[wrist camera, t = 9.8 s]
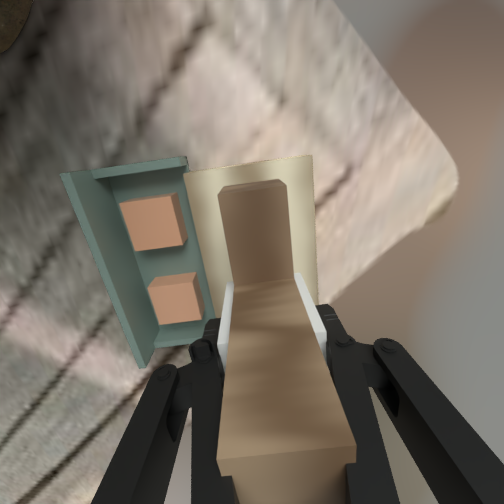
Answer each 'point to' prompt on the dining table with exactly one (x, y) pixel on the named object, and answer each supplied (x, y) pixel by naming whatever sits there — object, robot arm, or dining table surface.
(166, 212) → the tile front
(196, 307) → the tile back
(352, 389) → the robot arm
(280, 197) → the t-shaped wooden block
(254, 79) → the dining table surface
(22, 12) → the container
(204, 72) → the dining table surface
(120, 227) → the box
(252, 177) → the beige slotted plate
